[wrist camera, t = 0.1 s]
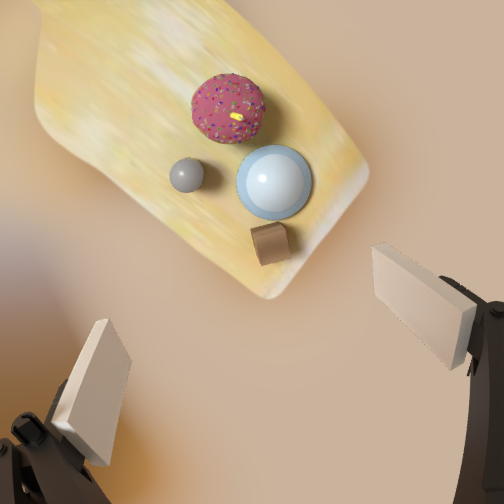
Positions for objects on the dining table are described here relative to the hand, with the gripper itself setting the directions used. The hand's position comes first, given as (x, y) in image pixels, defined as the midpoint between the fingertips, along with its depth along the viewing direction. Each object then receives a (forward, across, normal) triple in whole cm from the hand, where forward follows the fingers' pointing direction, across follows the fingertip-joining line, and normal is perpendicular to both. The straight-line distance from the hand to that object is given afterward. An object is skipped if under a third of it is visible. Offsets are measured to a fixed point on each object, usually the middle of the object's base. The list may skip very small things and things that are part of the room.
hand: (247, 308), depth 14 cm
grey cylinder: (+28, -3, +5) cm, 28 cm away
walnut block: (+28, +5, -7) cm, 29 cm away
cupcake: (+28, +4, +11) cm, 30 cm away
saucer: (+28, +8, +1) cm, 29 cm away
